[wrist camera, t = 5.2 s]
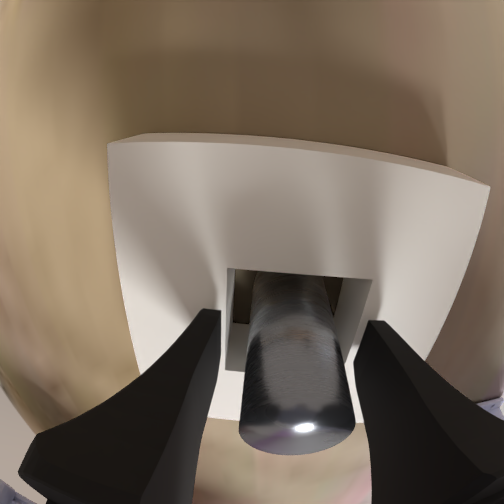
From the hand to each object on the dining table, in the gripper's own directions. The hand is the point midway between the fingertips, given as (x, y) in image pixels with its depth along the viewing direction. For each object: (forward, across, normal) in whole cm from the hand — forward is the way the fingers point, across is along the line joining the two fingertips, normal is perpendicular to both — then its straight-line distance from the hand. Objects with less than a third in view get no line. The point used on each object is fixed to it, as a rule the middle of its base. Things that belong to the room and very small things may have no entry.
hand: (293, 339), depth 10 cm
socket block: (+3, 0, 0) cm, 3 cm away
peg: (+3, 0, 0) cm, 3 cm away
